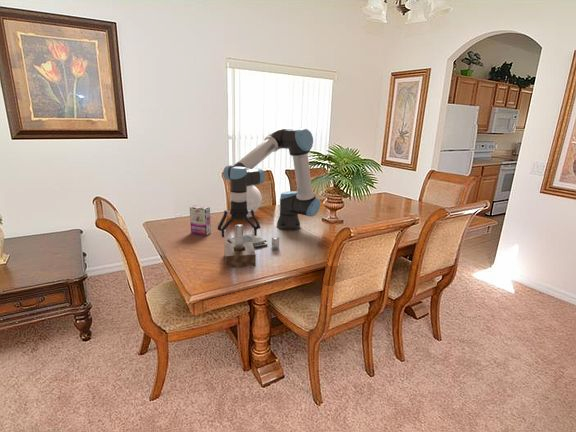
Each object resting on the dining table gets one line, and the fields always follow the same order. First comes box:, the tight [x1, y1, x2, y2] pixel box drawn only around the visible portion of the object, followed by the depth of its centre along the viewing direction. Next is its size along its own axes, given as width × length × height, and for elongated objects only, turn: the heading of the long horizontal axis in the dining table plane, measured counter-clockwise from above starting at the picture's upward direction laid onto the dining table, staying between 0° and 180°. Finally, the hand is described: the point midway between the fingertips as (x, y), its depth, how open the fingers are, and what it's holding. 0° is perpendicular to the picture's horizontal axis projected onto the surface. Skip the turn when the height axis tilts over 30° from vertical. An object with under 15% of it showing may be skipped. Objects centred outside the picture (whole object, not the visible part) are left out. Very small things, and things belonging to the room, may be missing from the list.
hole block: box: [224, 242, 257, 269], centre depth 164 cm, size 14×16×6 cm
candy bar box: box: [189, 205, 212, 237], centre depth 197 cm, size 11×5×16 cm, turn 70°
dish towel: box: [227, 234, 268, 250], centre depth 186 cm, size 19×18×3 cm
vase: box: [230, 185, 263, 218], centre depth 232 cm, size 19×21×30 cm
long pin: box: [234, 223, 244, 251], centre depth 162 cm, size 4×4×18 cm
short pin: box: [271, 236, 280, 251], centre depth 179 cm, size 4×4×6 cm
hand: (239, 242), depth 162 cm, fingers open, 13 cm apart
